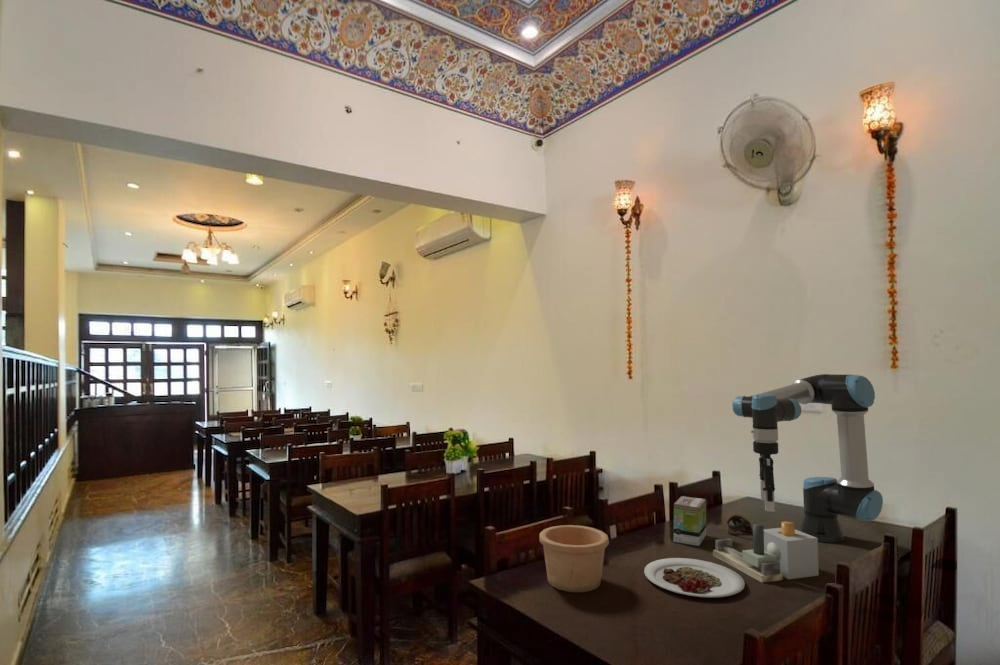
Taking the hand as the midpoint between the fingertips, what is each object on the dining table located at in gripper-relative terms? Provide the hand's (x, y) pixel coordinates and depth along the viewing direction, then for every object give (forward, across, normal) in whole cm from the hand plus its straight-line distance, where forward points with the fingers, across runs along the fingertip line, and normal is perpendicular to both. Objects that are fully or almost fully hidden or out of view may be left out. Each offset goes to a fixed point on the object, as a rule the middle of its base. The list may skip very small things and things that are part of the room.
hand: (767, 505), depth 178 cm
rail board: (+22, -2, -7) cm, 23 cm away
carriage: (+18, +3, -3) cm, 19 cm away
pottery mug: (+23, -41, -7) cm, 48 cm away
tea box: (+22, -26, -25) cm, 43 cm away
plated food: (+22, +16, -24) cm, 36 cm away
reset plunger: (+15, -5, +6) cm, 17 cm away
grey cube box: (+22, -4, +6) cm, 23 cm away
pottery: (+21, +30, -59) cm, 69 cm away
